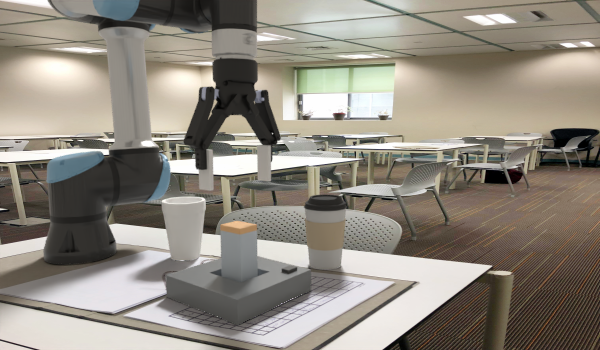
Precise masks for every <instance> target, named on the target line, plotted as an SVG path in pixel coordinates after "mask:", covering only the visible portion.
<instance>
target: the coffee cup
mask: <svg viewBox="0 0 600 350" xmlns="http://www.w3.org/2000/svg"><path fill="white" fill-rule="evenodd" d="M304 203H305V204H304V206H303V208H304V212H305V213H304V214H305V215H304V216H305V218H304V223H305V224H304V225H305V235H306V246H307V249H308V250H307V252H308V253H307V254H308V261H309V262H308V263H309V264H308V265H309V267H311V268H312V269H315V270H321V271H322V270H323V271H330V270H336V269H339V268H340V267H342V258H343V248H344V240H345V231H346V221H347V220H346V211H347V207H348V206H347V205H346V201H345V200H344V199H343V197H342V195H337V194H327V193H326V194H325V193H324V194H315V195H314V194H313V195H311V196H309V197H308V200H306V201H305V202H304Z"/></svg>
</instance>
